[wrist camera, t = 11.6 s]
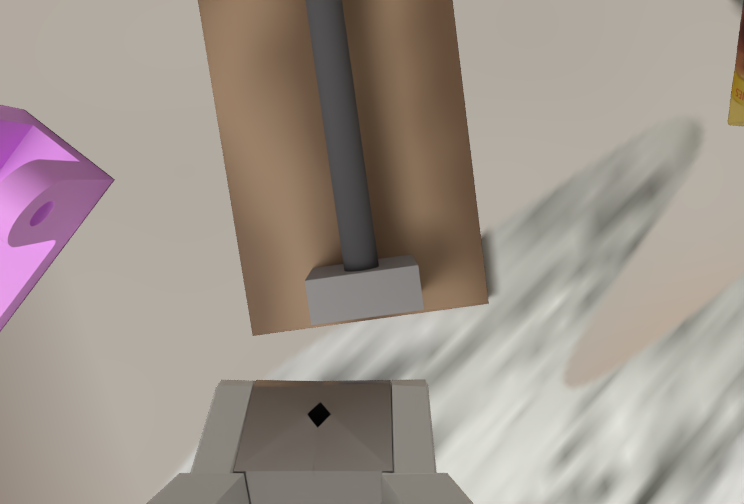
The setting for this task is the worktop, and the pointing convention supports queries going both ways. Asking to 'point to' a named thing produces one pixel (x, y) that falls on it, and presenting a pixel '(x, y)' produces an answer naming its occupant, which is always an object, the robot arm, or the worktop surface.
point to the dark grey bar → (350, 194)
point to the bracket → (38, 202)
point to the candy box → (738, 82)
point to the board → (310, 159)
